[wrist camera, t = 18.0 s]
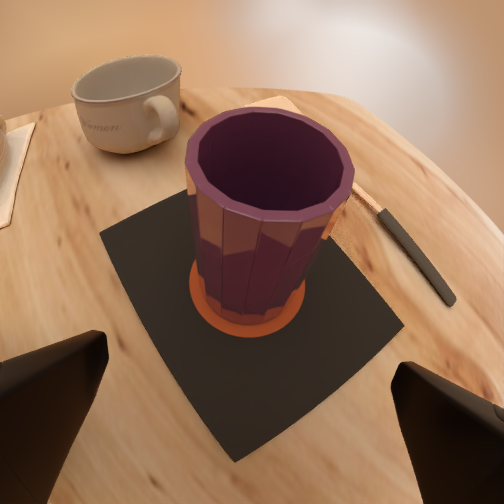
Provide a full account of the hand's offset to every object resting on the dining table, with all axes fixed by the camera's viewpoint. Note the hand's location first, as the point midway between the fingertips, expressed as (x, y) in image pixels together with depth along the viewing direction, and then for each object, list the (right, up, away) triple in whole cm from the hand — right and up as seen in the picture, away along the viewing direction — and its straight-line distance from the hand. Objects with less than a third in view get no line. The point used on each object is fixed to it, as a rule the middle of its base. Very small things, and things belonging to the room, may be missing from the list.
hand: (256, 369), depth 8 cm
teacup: (-12, +15, +21) cm, 29 cm away
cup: (0, +1, +14) cm, 14 cm away
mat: (0, +1, +14) cm, 14 cm away
